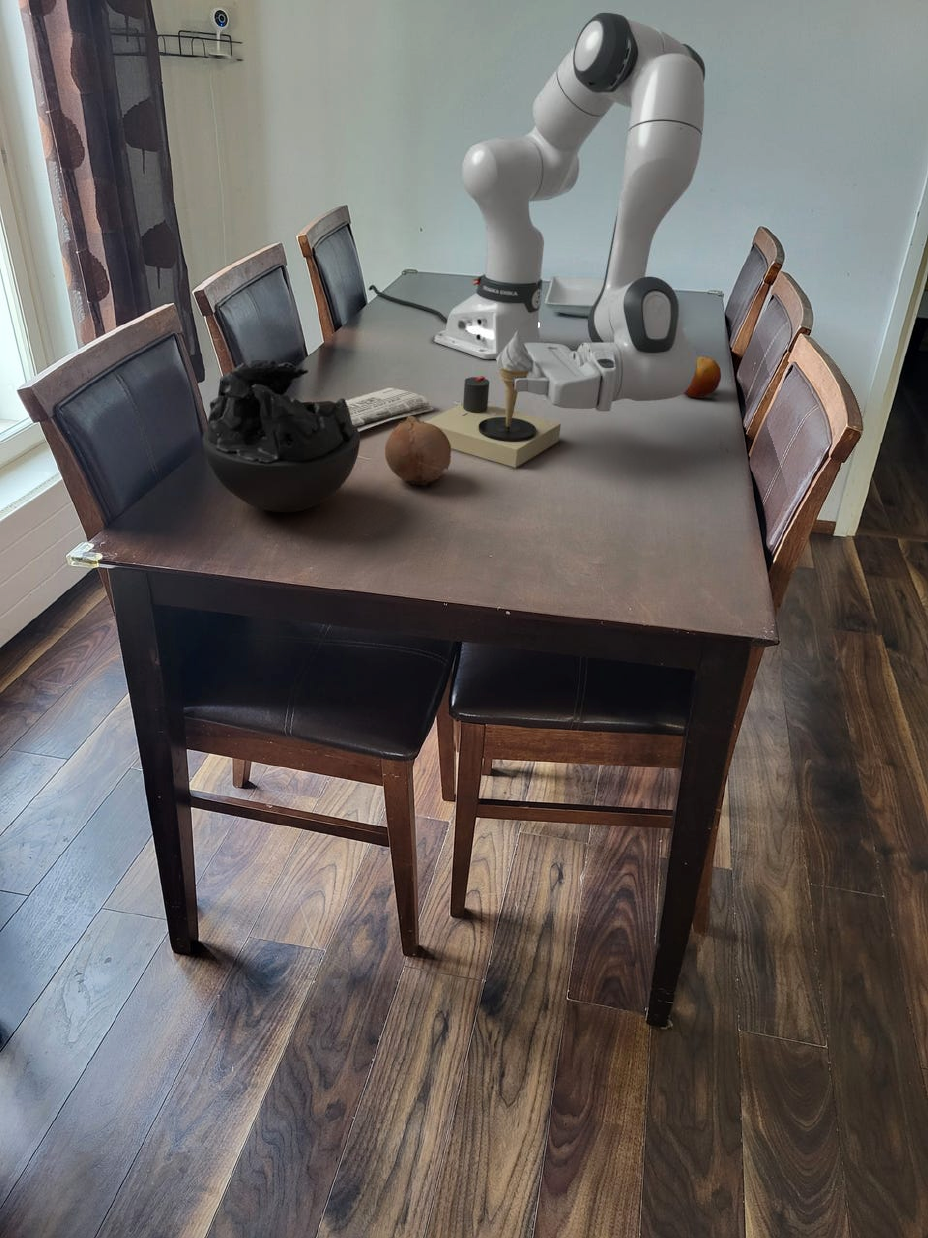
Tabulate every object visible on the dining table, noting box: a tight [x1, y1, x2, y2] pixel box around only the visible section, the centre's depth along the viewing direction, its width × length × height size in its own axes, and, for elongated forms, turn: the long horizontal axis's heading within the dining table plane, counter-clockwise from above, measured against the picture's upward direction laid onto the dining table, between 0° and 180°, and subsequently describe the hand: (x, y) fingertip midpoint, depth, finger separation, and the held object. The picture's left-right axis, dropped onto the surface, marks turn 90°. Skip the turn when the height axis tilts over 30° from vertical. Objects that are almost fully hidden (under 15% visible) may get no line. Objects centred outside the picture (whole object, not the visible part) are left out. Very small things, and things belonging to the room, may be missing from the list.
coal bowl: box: [201, 358, 361, 513], centre depth 120 cm, size 20×20×19 cm
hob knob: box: [462, 375, 490, 413], centre depth 150 cm, size 4×4×5 cm
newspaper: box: [345, 387, 435, 432], centre depth 154 cm, size 23×12×2 cm, turn 138°
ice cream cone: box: [495, 330, 534, 427], centre depth 140 cm, size 6×6×15 cm
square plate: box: [544, 275, 605, 318], centre depth 223 cm, size 27×27×4 cm
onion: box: [384, 415, 452, 486], centre depth 132 cm, size 10×9×10 cm
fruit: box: [683, 356, 722, 399], centre depth 172 cm, size 8×8×8 cm
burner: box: [478, 417, 536, 442], centre depth 144 cm, size 9×9×1 cm
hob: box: [424, 401, 561, 469], centre depth 148 cm, size 18×15×3 cm
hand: (506, 373), depth 139 cm, fingers open, 8 cm apart
